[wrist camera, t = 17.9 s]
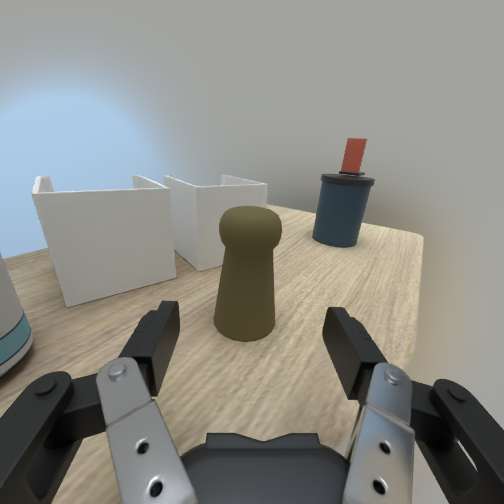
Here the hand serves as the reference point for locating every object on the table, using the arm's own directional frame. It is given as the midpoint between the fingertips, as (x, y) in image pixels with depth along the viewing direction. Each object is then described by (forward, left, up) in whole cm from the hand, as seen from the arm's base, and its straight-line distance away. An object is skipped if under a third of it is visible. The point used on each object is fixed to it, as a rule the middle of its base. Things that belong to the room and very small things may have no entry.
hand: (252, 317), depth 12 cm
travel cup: (+27, -26, -7) cm, 38 cm away
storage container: (+23, +5, -7) cm, 25 cm away
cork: (+8, -2, -7) cm, 11 cm away
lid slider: (+28, -28, +5) cm, 40 cm away
